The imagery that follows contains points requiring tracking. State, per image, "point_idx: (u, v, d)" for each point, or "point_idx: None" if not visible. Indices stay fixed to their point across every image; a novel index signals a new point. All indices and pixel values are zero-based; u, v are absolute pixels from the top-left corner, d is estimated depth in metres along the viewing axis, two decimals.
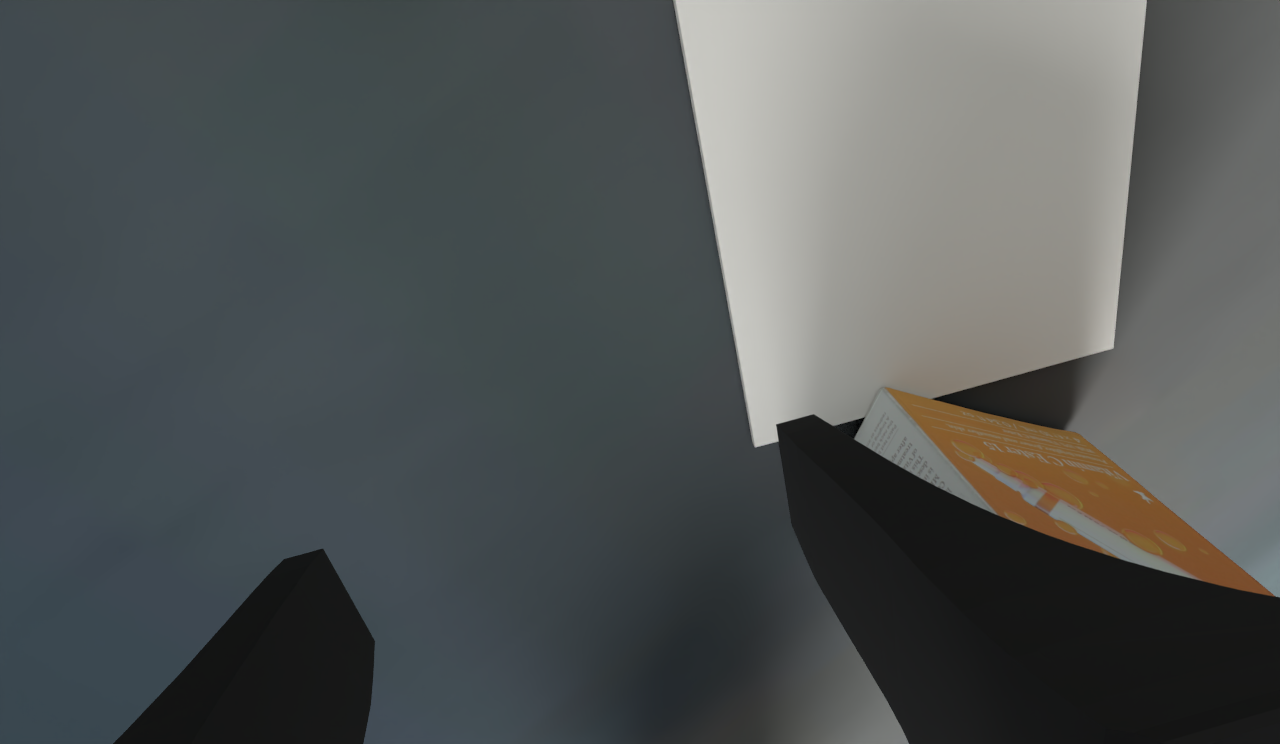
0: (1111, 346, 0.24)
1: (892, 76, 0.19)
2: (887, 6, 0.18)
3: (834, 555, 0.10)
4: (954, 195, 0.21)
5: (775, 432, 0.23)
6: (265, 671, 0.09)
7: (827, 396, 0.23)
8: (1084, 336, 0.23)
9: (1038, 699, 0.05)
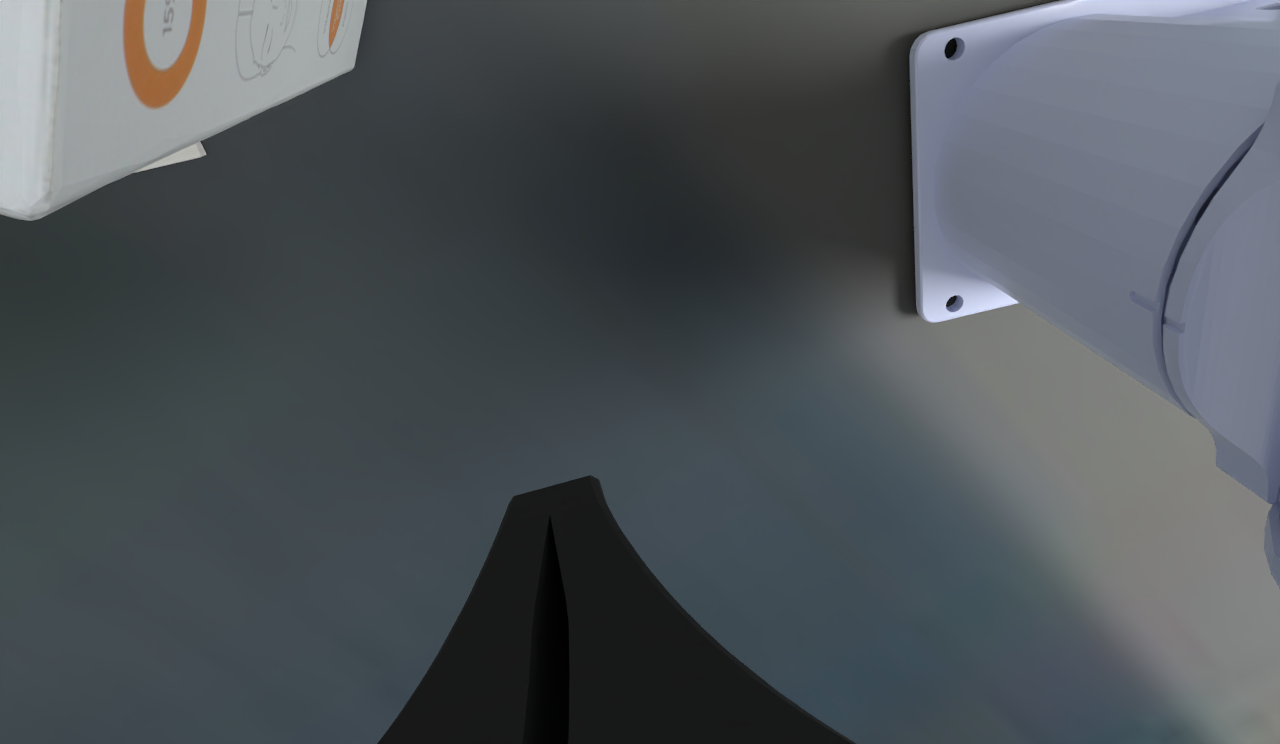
0: None
1: None
2: None
3: None
4: None
5: None
6: (548, 591, 0.09)
7: None
8: None
9: None
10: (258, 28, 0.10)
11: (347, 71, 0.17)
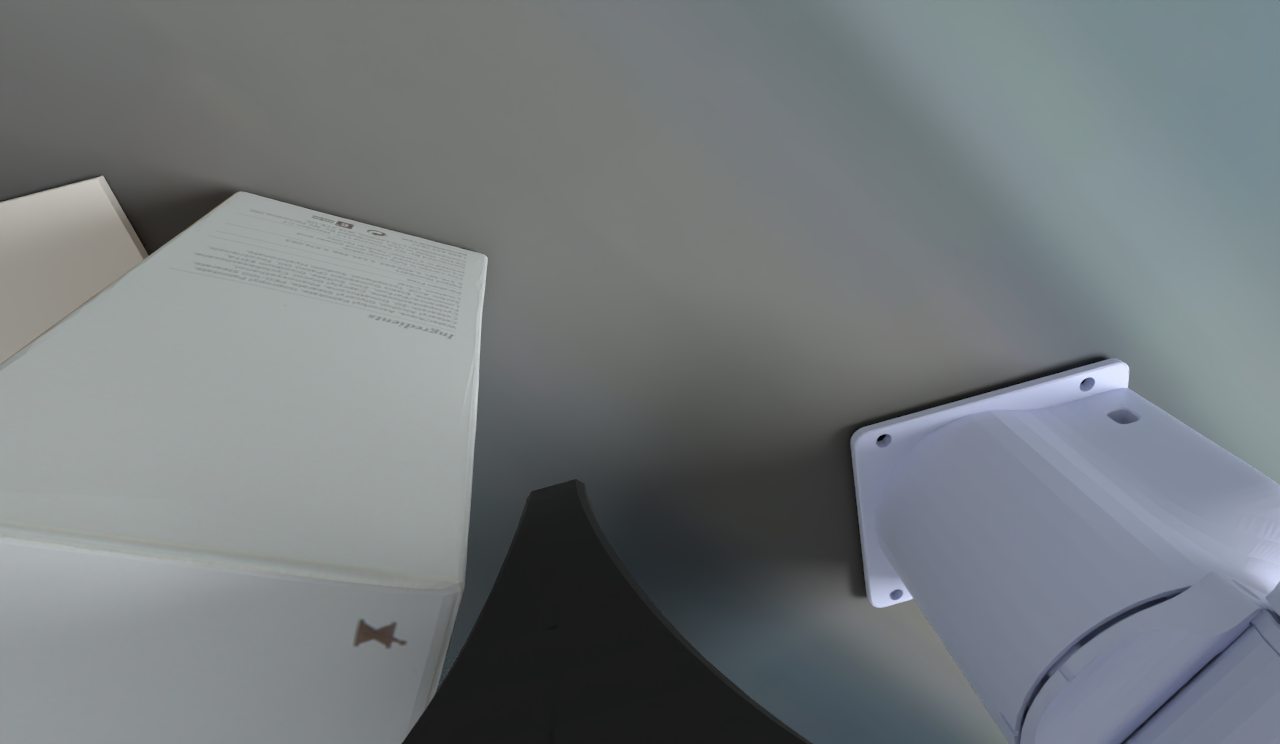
0: (94, 181, 0.18)
1: None
2: None
3: None
4: None
5: None
6: None
7: None
8: (91, 227, 0.18)
9: None
10: None
11: None
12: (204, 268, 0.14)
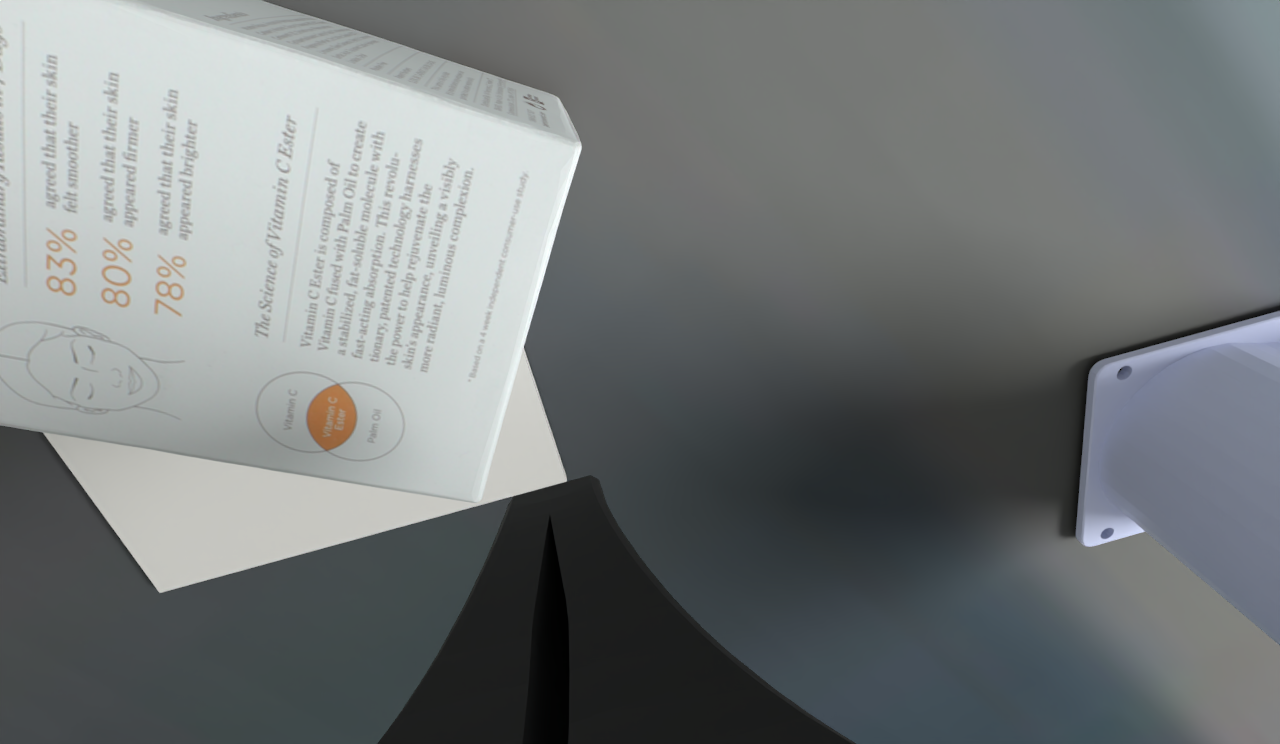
0: None
1: None
2: (110, 447, 0.20)
3: None
4: None
5: (550, 465, 0.23)
6: (549, 591, 0.09)
7: (508, 425, 0.22)
8: None
9: None
10: (50, 374, 0.13)
11: (445, 497, 0.16)
12: (315, 20, 0.16)
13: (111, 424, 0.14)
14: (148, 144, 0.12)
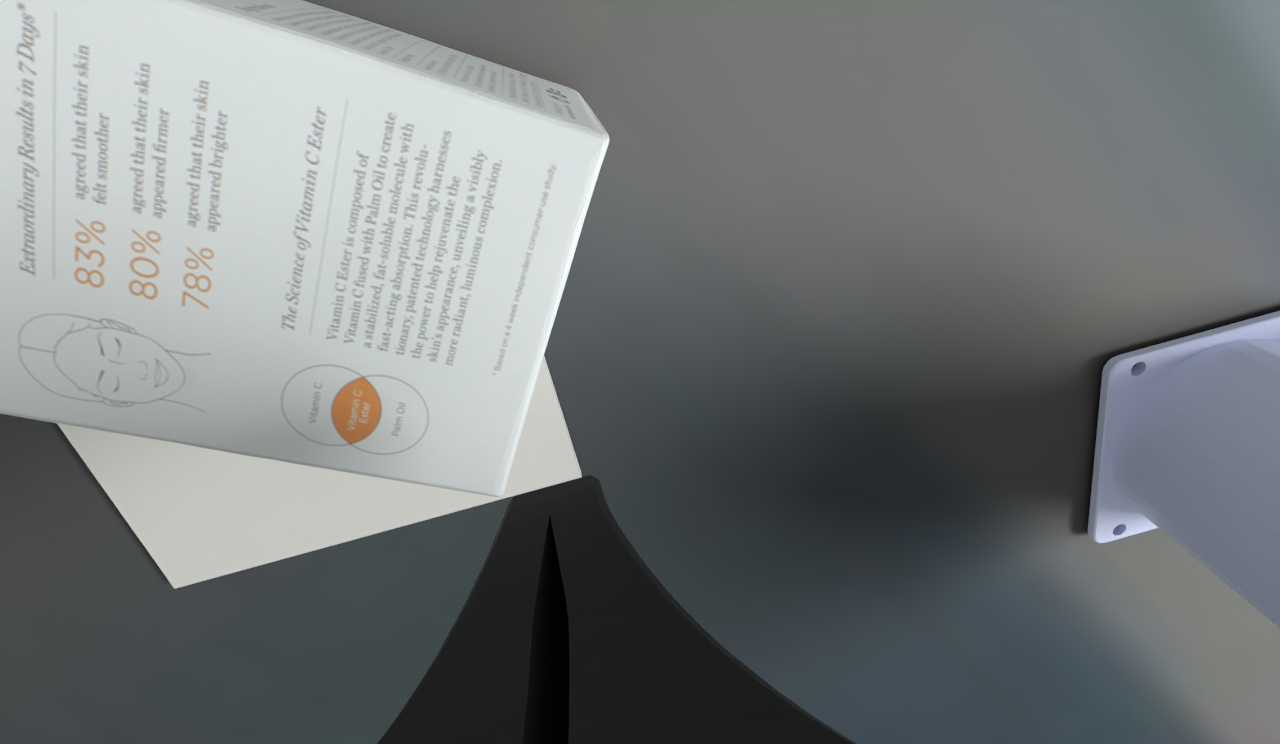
0: None
1: None
2: (127, 442, 0.20)
3: None
4: None
5: (565, 461, 0.23)
6: (548, 591, 0.09)
7: None
8: None
9: None
10: (76, 367, 0.13)
11: (468, 491, 0.16)
12: (337, 13, 0.16)
13: (136, 417, 0.14)
14: (178, 136, 0.12)
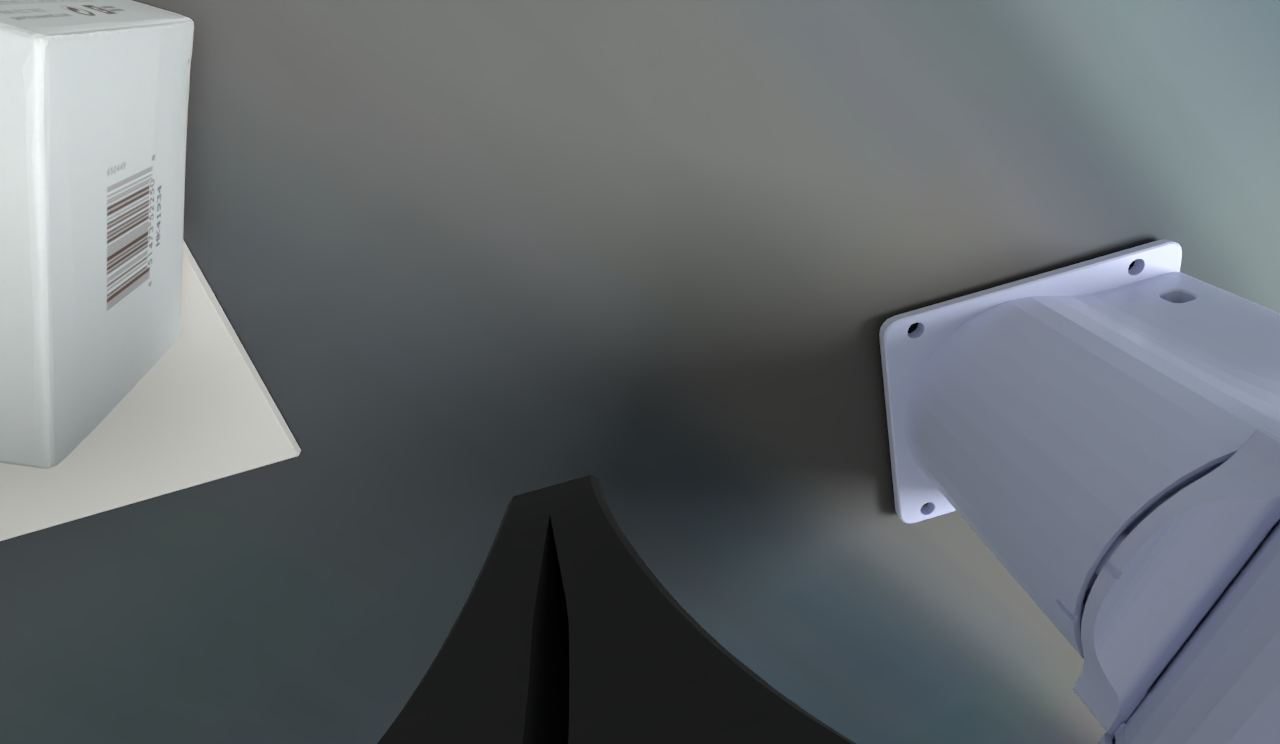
0: None
1: None
2: None
3: None
4: None
5: (275, 438, 0.21)
6: (548, 592, 0.09)
7: (217, 394, 0.20)
8: None
9: None
10: None
11: (6, 462, 0.14)
12: None
13: None
14: None
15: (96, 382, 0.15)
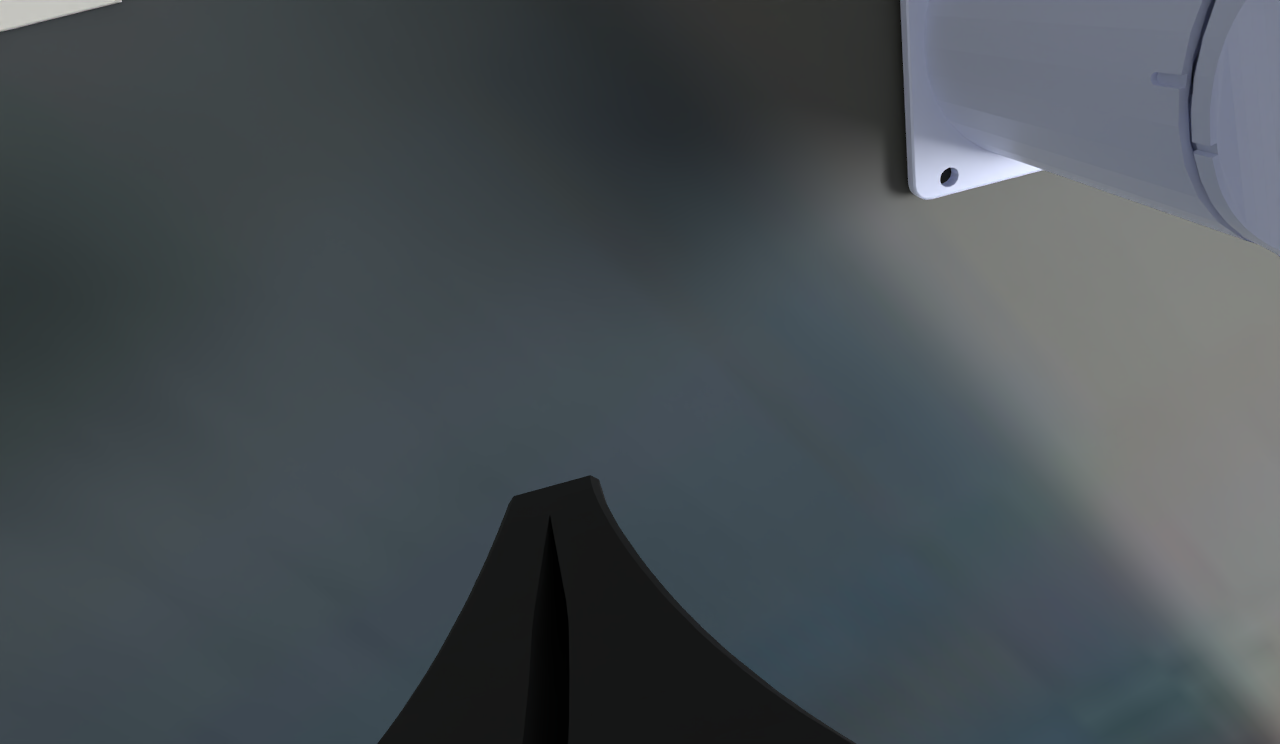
0: None
1: None
2: None
3: None
4: None
5: None
6: (548, 592, 0.09)
7: None
8: None
9: None
10: None
11: None
12: None
13: None
14: None
15: None
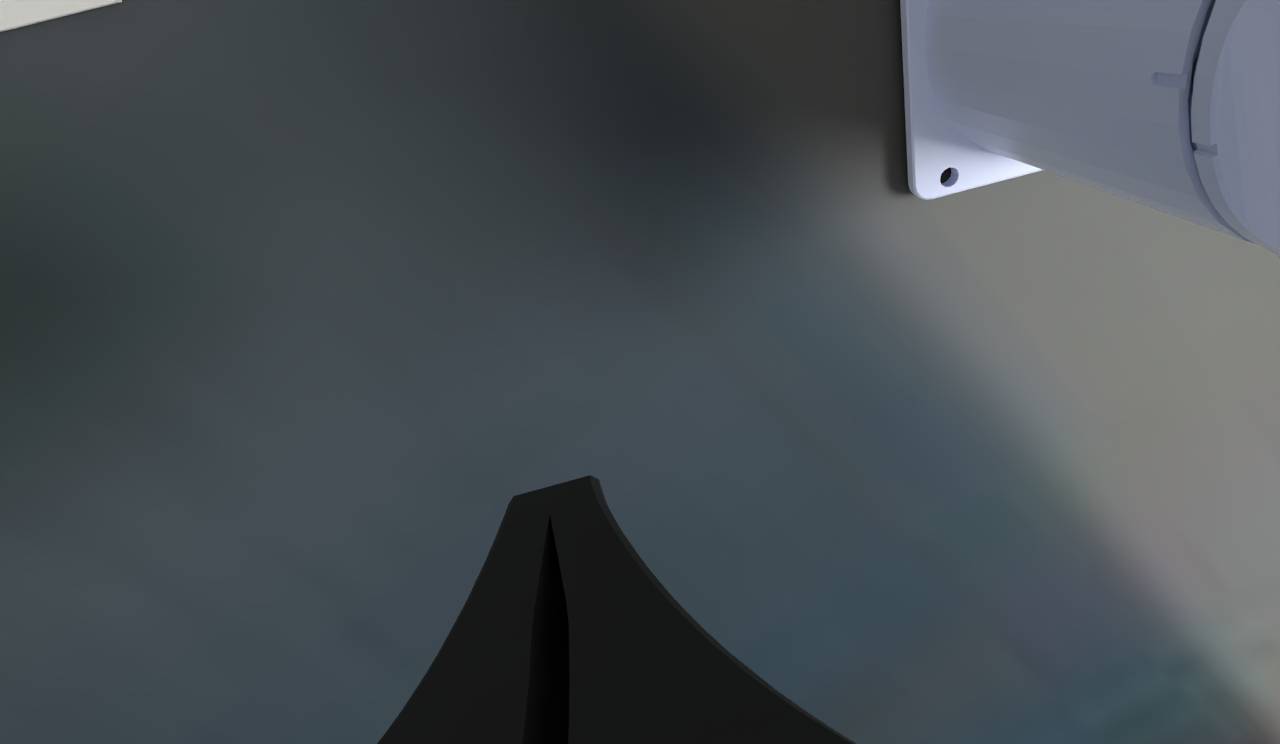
0: None
1: None
2: None
3: None
4: None
5: None
6: (548, 592, 0.09)
7: None
8: None
9: None
10: None
11: None
12: None
13: None
14: None
15: None
